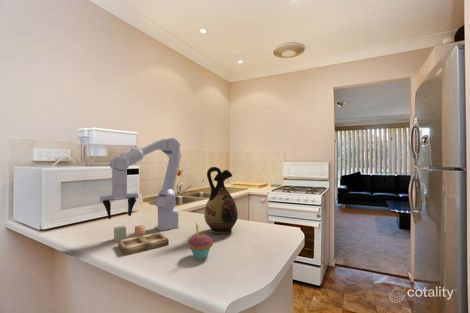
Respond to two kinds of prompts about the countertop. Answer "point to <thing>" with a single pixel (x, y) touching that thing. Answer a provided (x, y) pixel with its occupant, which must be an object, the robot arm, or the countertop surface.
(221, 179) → the ceramic jug
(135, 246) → the pocket board
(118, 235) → the sage cube
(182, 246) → the countertop surface
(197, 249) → the cupcake
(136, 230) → the terracotta dowel
